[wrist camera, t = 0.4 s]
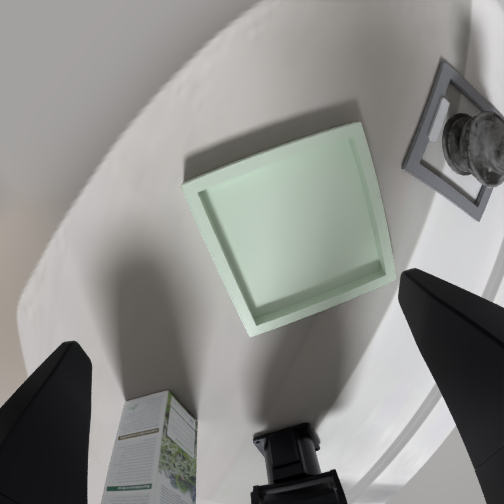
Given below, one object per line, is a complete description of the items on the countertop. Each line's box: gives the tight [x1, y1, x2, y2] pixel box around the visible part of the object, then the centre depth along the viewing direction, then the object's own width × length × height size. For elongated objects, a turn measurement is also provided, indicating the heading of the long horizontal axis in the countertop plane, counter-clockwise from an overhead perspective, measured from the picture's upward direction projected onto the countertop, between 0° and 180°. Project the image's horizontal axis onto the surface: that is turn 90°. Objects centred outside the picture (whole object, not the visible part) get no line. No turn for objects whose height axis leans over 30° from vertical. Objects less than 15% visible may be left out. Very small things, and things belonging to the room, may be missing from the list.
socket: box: [402, 62, 504, 222], centre depth 19 cm, size 10×10×1 cm
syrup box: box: [101, 390, 198, 504], centre depth 21 cm, size 6×6×14 cm
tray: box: [180, 122, 396, 337], centre depth 21 cm, size 12×12×2 cm
